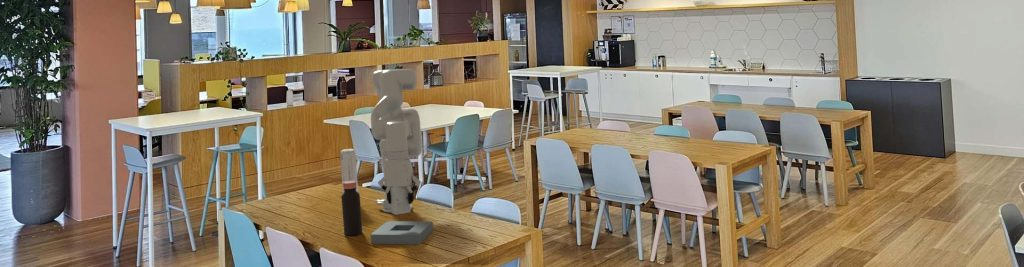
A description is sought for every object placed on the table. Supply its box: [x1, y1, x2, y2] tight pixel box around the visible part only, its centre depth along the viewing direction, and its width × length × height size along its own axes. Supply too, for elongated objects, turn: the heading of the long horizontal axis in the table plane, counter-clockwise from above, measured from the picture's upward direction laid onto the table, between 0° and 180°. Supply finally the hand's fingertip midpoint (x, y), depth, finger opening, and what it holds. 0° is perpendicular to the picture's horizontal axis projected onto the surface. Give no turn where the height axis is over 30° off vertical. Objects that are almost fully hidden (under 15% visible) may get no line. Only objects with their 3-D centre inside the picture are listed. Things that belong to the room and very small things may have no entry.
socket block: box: [370, 220, 434, 245], centre depth 284 cm, size 18×18×4 cm
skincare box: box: [390, 182, 412, 216], centre depth 282 cm, size 6×4×12 cm
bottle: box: [340, 181, 363, 237], centre depth 291 cm, size 7×7×20 cm
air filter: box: [339, 148, 359, 194], centre depth 336 cm, size 6×6×25 cm
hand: (400, 202), depth 283 cm, fingers closed on skincare box, 7 cm apart
